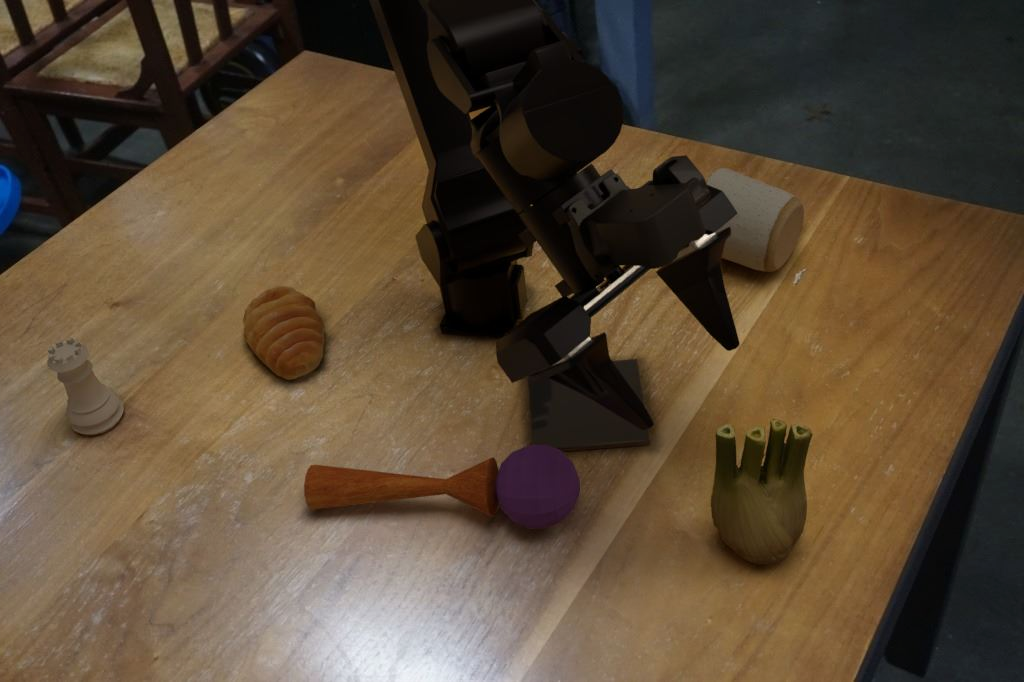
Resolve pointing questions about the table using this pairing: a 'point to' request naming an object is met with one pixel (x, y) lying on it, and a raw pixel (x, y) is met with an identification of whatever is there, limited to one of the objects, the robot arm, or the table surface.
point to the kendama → (464, 486)
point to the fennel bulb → (761, 491)
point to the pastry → (285, 331)
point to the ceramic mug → (758, 221)
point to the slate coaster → (582, 416)
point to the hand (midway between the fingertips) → (692, 386)
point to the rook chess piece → (84, 389)
